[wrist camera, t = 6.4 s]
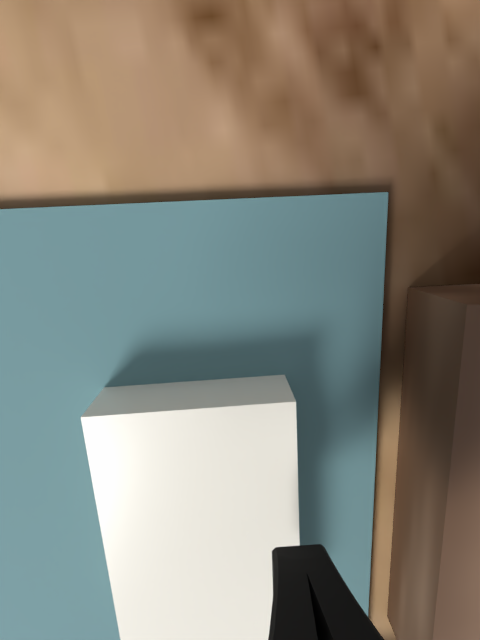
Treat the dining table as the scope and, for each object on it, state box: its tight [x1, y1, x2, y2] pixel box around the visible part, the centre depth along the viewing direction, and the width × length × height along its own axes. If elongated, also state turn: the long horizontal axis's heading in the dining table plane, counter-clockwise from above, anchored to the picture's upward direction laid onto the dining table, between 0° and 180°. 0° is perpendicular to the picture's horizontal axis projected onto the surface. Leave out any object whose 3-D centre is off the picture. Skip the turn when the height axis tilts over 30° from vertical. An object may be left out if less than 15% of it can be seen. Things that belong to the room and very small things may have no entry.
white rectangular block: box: [81, 375, 300, 640], centre depth 12 cm, size 6×9×2 cm, turn 3°
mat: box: [0, 192, 388, 640], centre depth 13 cm, size 18×20×1 cm
